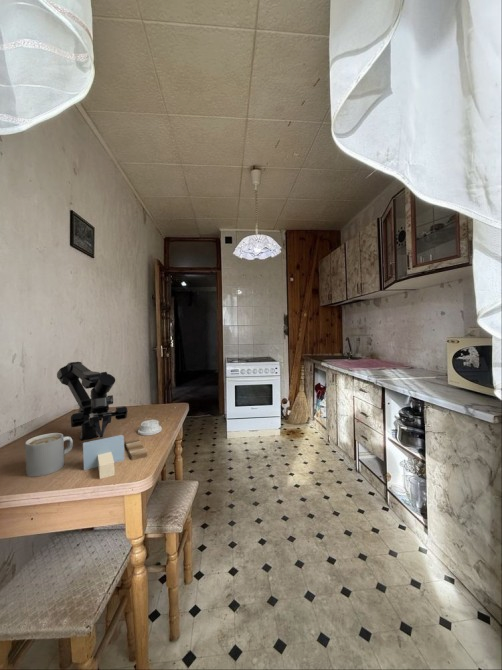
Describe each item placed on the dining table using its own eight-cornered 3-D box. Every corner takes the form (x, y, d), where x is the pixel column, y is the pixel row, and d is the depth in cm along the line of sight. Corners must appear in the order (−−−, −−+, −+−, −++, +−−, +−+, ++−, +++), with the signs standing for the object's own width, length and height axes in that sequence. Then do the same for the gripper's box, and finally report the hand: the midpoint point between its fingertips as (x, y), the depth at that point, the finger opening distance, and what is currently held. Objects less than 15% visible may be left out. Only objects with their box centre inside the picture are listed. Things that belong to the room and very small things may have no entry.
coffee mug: (31, 480, 82) (30, 447, 81) (22, 470, 88) (21, 440, 87) (80, 462, 92) (79, 433, 92) (69, 455, 98) (68, 427, 98)
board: (125, 444, 107) (124, 441, 107) (138, 441, 109) (138, 438, 109) (131, 460, 93) (131, 456, 93) (147, 456, 96) (147, 452, 96)
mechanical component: (133, 435, 116) (153, 436, 114) (132, 425, 116) (153, 426, 114) (146, 427, 126) (165, 428, 124) (146, 417, 126) (165, 418, 124)
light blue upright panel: (83, 466, 90) (82, 442, 89) (123, 456, 96) (122, 434, 96) (84, 483, 79) (83, 456, 79) (128, 471, 86) (127, 446, 86)
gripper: (70, 392, 98) (69, 432, 89) (126, 386, 108) (131, 421, 99) (71, 408, 105) (71, 446, 96) (124, 400, 115) (128, 435, 106)
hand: (101, 437), depth 99 cm, fingers closed
